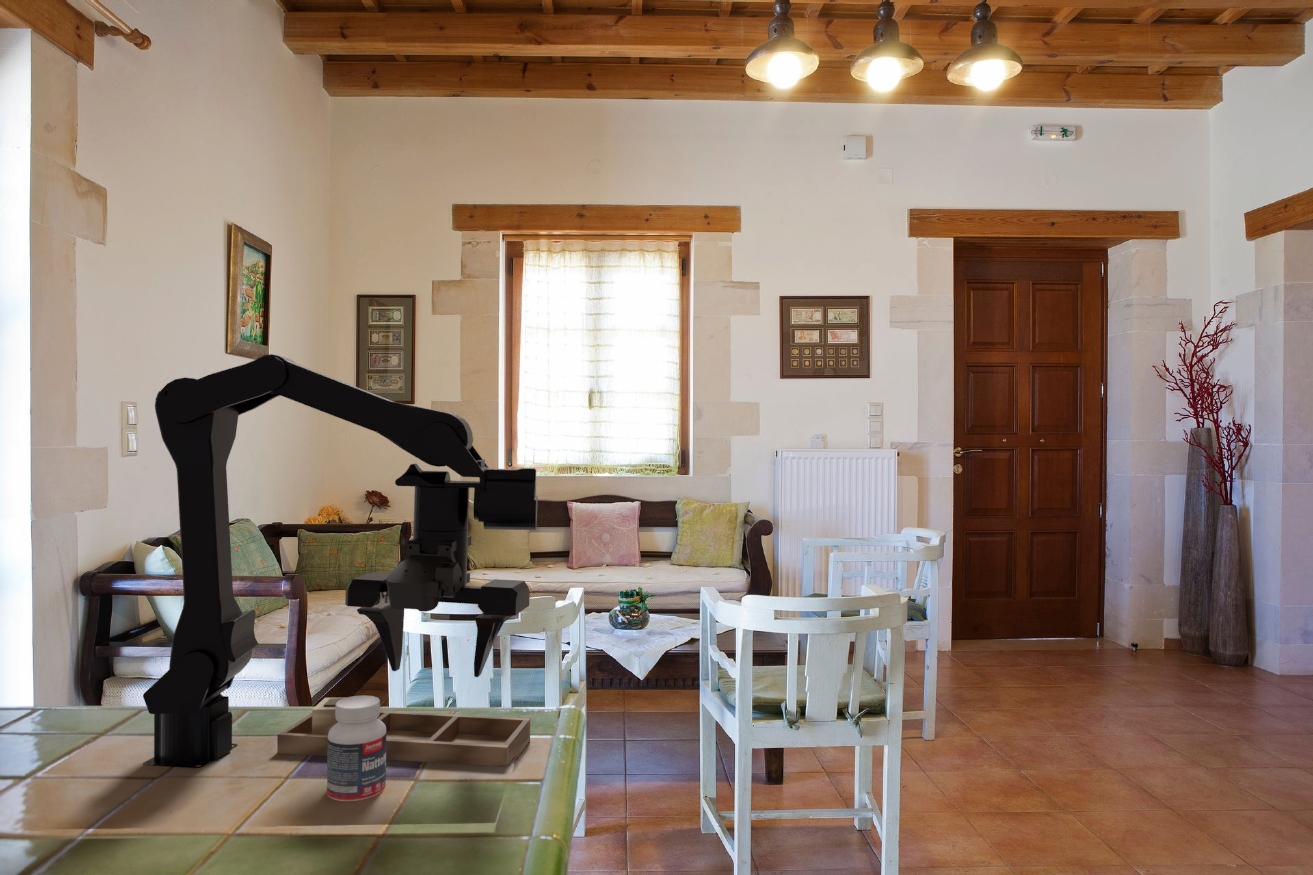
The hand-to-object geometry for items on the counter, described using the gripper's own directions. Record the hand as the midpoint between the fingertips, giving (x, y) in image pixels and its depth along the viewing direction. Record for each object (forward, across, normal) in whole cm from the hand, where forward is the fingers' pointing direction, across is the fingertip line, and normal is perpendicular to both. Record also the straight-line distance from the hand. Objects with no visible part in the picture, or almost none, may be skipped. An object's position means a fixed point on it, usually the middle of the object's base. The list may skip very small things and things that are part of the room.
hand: (436, 673), depth 90 cm
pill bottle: (+9, -3, -11) cm, 15 cm away
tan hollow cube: (+8, -11, 0) cm, 14 cm away
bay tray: (+8, -3, 0) cm, 9 cm away
